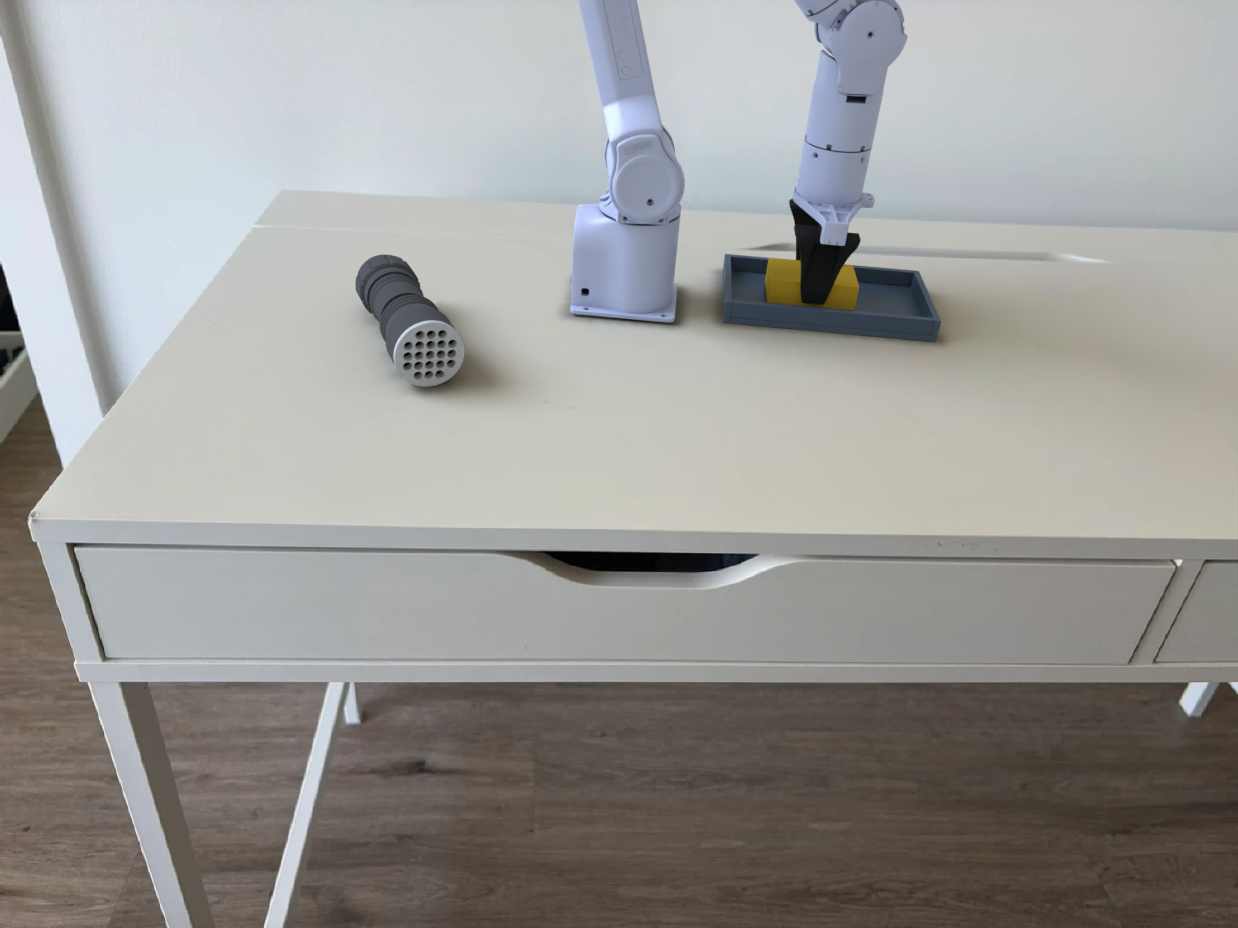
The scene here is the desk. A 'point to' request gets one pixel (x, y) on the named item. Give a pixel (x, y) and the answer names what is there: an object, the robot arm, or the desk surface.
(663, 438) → the desk surface
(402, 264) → the flashlight
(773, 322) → the tray
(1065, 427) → the desk surface
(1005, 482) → the desk surface
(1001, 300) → the desk surface
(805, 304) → the sponge
